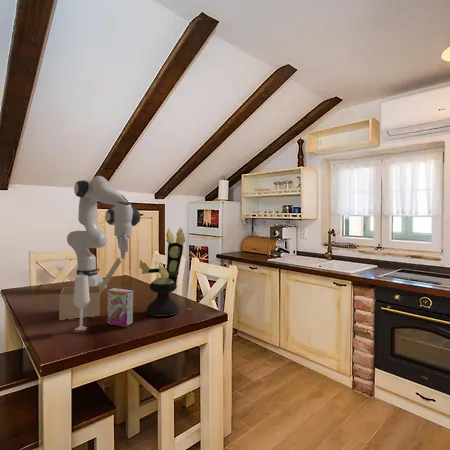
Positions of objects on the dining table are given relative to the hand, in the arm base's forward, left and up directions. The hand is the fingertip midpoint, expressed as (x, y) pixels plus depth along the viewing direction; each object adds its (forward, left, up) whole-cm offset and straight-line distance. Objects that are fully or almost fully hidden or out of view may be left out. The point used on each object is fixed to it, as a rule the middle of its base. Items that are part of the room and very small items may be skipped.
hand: (122, 258), depth 169 cm
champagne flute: (+31, -3, -28) cm, 41 cm away
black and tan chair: (-3, +23, -28) cm, 36 cm away
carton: (+11, -17, -28) cm, 34 cm away
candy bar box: (+21, +10, -28) cm, 36 cm away
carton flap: (+3, -5, -8) cm, 10 cm away
